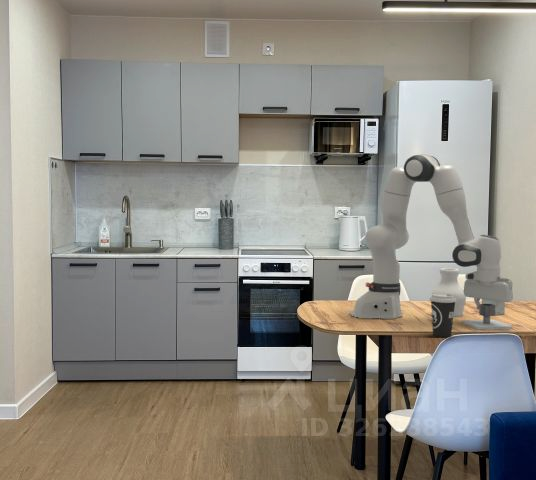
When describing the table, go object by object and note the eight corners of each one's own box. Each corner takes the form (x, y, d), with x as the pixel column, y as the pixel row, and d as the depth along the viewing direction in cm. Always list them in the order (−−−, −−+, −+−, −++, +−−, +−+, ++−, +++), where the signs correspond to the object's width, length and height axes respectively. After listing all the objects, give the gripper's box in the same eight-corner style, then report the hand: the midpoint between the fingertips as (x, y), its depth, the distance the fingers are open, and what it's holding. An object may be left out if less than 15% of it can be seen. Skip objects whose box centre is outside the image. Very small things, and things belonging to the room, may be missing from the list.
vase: (426, 311, 288) (427, 267, 286) (457, 311, 289) (459, 267, 288) (438, 317, 274) (439, 270, 272) (470, 317, 275) (472, 270, 274)
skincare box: (504, 314, 284) (506, 280, 283) (496, 315, 280) (497, 281, 279) (488, 311, 291) (490, 278, 290) (480, 312, 287) (481, 279, 286)
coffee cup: (448, 339, 232) (449, 297, 231) (424, 335, 239) (425, 294, 238) (460, 335, 239) (461, 294, 238) (436, 331, 246) (437, 292, 245)
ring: (483, 316, 254) (483, 306, 253) (476, 313, 259) (476, 303, 259) (498, 316, 254) (498, 305, 254) (490, 313, 260) (491, 303, 260)
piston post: (478, 329, 250) (478, 314, 249) (462, 322, 263) (462, 308, 263) (511, 329, 252) (512, 313, 251) (494, 322, 265) (494, 307, 265)
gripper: (516, 278, 250) (515, 313, 251) (471, 273, 266) (470, 306, 267) (507, 279, 246) (506, 315, 247) (461, 274, 262) (461, 308, 263)
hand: (487, 310), depth 257 cm, fingers closed on ring, 6 cm apart
